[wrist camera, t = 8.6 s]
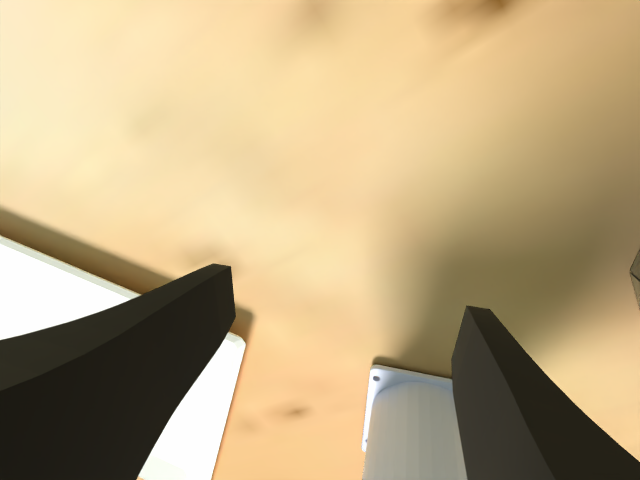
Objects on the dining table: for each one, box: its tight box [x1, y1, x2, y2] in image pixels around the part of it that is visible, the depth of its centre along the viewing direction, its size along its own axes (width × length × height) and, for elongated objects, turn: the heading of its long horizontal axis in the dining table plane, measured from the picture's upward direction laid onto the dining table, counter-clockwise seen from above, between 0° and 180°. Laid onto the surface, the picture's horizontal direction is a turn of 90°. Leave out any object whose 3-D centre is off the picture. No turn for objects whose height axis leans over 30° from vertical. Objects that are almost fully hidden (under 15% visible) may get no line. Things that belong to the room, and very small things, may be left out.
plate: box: [0, 235, 246, 480], centre depth 33 cm, size 26×26×2 cm
